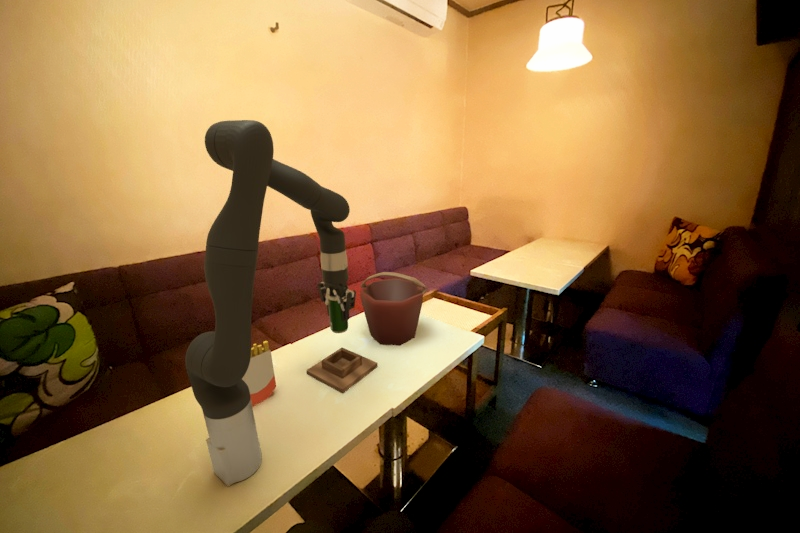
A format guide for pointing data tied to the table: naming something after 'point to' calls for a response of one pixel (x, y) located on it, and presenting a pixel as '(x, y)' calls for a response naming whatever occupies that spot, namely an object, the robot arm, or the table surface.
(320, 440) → the table surface
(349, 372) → the can holder
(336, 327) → the beer can
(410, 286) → the bucket
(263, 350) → the french fries container
